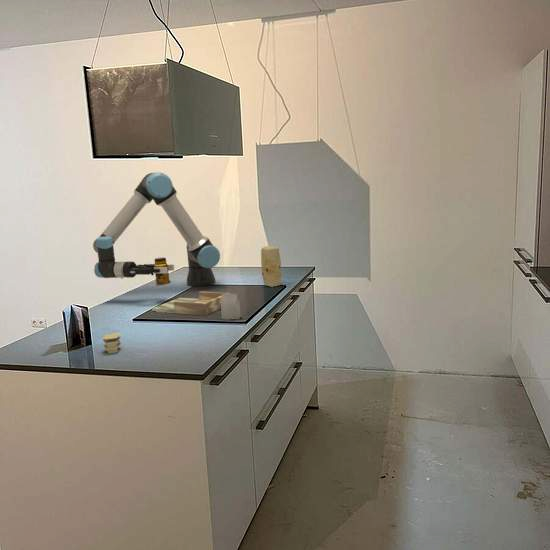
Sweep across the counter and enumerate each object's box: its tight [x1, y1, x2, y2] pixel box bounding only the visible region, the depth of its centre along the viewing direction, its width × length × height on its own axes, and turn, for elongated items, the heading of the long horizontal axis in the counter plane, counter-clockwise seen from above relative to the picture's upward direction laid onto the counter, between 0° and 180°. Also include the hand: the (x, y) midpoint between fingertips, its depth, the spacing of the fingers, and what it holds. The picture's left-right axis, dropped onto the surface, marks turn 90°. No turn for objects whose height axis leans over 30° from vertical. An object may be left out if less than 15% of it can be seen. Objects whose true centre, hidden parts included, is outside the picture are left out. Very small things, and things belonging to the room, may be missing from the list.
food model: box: [260, 245, 283, 288], centre depth 294 cm, size 10×7×20 cm
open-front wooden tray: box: [151, 291, 231, 316], centre depth 261 cm, size 20×28×5 cm
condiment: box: [154, 257, 173, 287], centre depth 274 cm, size 7×8×12 cm
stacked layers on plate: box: [102, 332, 122, 355], centre depth 206 cm, size 10×9×6 cm
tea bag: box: [220, 293, 242, 320], centre depth 238 cm, size 4×7×10 cm, turn 69°
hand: (170, 268), depth 271 cm, fingers closed on condiment, 6 cm apart
